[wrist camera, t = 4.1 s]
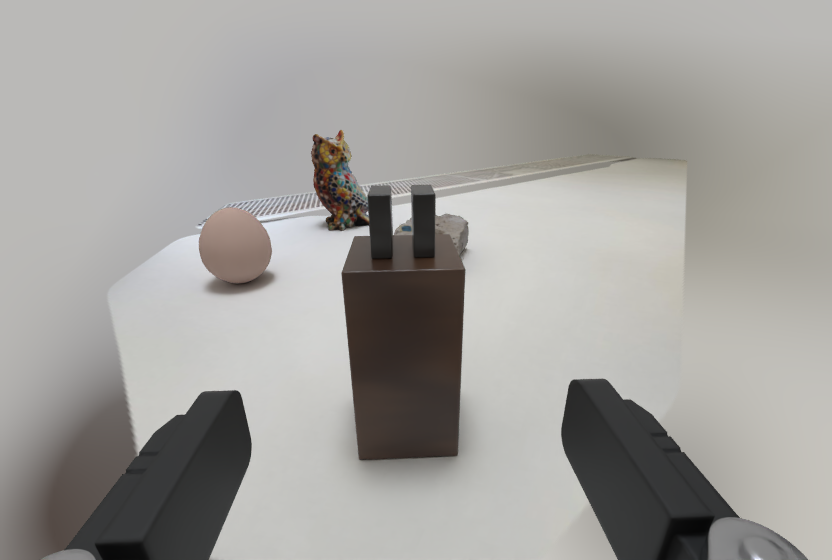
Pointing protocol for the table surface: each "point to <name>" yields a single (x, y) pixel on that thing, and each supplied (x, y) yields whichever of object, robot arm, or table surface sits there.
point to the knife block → (404, 332)
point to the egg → (234, 246)
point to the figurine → (338, 183)
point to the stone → (444, 229)
